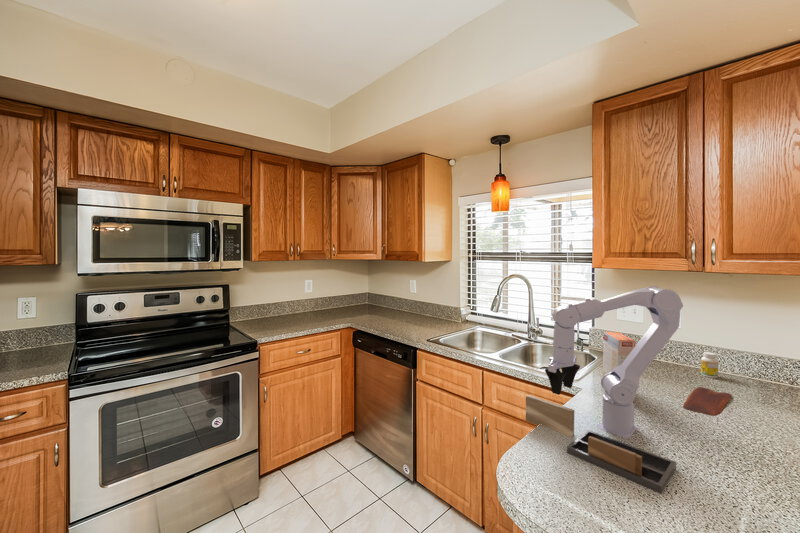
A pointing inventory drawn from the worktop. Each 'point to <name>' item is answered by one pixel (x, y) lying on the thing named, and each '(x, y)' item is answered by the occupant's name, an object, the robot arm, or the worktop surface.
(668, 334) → the robot arm
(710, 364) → the supplement bottle
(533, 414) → the birch sheet
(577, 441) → the rack
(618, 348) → the cracker box
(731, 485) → the worktop surface
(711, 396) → the reddish brown cloth
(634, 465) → the oak offcuts
